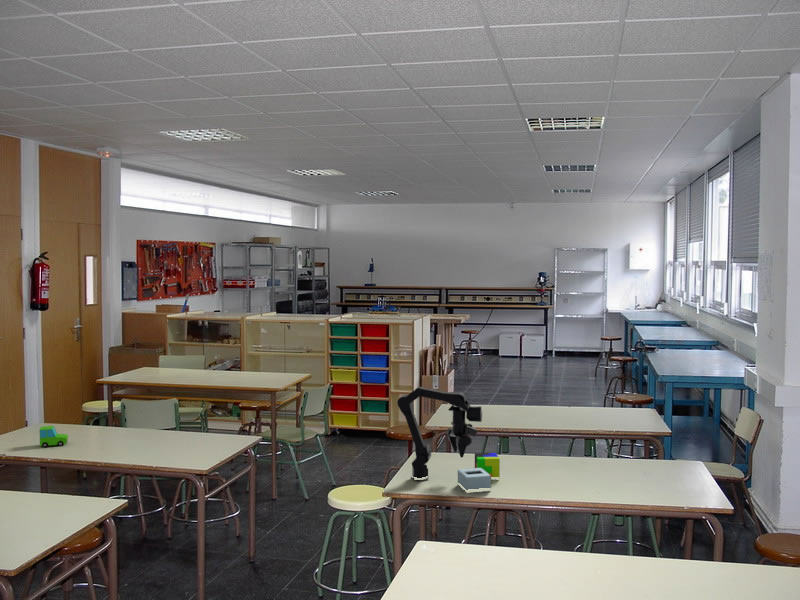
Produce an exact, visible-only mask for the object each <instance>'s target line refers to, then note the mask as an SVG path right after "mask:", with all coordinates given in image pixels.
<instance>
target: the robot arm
mask: <svg viewBox="0 0 800 600" xmlns="http://www.w3.org/2000/svg"><path fill="white" fill-rule="evenodd" d="M419 397H421V398H426V399H431V400H437V401H440V402H441V401H442V402H444V403H448V404H450V405H451V406H450V407H449V408H448V411H449V412H452V421H451V422H450V424H451V425H452V427H451V428H450V427H449V428H447V429H446V435H447V438H448V440H449V442H450V445H451V448H452V450H453V453H457V452H458V454H459V457H460V458H464V456H465V453H466V449H467V447H468V446H469V445H471V444H473V443H472V441H473V440H472V439H473V438H471V437H470V436H469V435H471V436H473V437H476V436H477V434H478V431H479V430H478V429H477V428H476V427H474V426H473V425H472V424H471V423H469V422H474V423H482V421H483V411H482V406H473V405H472V406H471V404H470V403H469V401H468V399H467V395H466V394H465V393H464V392H461V391H448V392H447V391H443V390H437V389H432V388H426V387H422V386H417V387H416V388H415V389H414V390H412V391H411V392H410V393H408V394H404V395H402V396H400V397H398V400H397V404H396V405H397V407H398V408H399V410H400V412H401V414H402V415H404V418H405V420H406V423H407V425H408V429H409V432H410V436H411V437H412V440H413V443H414V447H415V450H414V451H415V452H414V453H415V458H414V460H413V461H412V462H411V466H412V467H411V468H412V470H411V473H412V475H411V476H413V477H417V478H422V477H426V476H428V477H429V468H428V465H427V463H428V462H429V461H430V460H431V458H432V452H433V451H432V450H431V446H430V443H428V444H426V442H425V441H424V439H423V436H422V433H421V429H420V427H419V424H418V422H417V418H416V415H415V412H414V410H415V409H414V401H416V400H417V399H419ZM466 420H468V423H466Z"/></svg>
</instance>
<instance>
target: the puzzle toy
mask: <svg viewBox="0 0 800 600" xmlns="http://www.w3.org/2000/svg"><path fill="white" fill-rule="evenodd" d="M500 462H501V460H500V457H499V455H498V454H497V453H496V452H475V453H474V468H482V469H483V470H484V471H486V472H487V473H488V474H489V475H491V477H499V478H500V472H501V471H500V466H501V464H500Z"/></svg>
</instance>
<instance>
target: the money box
mask: <svg viewBox="0 0 800 600" xmlns="http://www.w3.org/2000/svg"><path fill="white" fill-rule="evenodd" d="M491 482H492V480H491V475H489V474H488V473H487V472H486V471H484V470H483V469H482V468H475V467H474V468H462V469H461V468H460V469H457V484H458V483H460V484H461V485H462V486H463V487H464V488H465V489H466V490H468V489H479V488H491V489H492V486H491V484H492V483H491Z"/></svg>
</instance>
